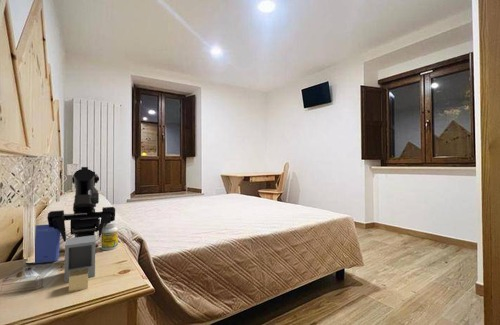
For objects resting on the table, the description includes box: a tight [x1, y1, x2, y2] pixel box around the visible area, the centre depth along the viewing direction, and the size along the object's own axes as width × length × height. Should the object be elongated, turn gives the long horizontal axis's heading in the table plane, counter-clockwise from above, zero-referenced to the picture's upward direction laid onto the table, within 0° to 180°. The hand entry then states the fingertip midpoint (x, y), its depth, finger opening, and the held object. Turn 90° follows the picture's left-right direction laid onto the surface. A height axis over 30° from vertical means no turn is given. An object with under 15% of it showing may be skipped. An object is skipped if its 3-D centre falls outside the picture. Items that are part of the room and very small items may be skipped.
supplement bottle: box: [101, 221, 119, 251], centre depth 94 cm, size 5×5×10 cm
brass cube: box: [68, 268, 89, 293], centre depth 65 cm, size 4×4×4 cm
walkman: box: [34, 223, 61, 264], centre depth 81 cm, size 8×3×12 cm, turn 109°
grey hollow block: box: [64, 235, 96, 283], centre depth 72 cm, size 7×7×10 cm
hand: (82, 238), depth 79 cm, fingers open, 9 cm apart
